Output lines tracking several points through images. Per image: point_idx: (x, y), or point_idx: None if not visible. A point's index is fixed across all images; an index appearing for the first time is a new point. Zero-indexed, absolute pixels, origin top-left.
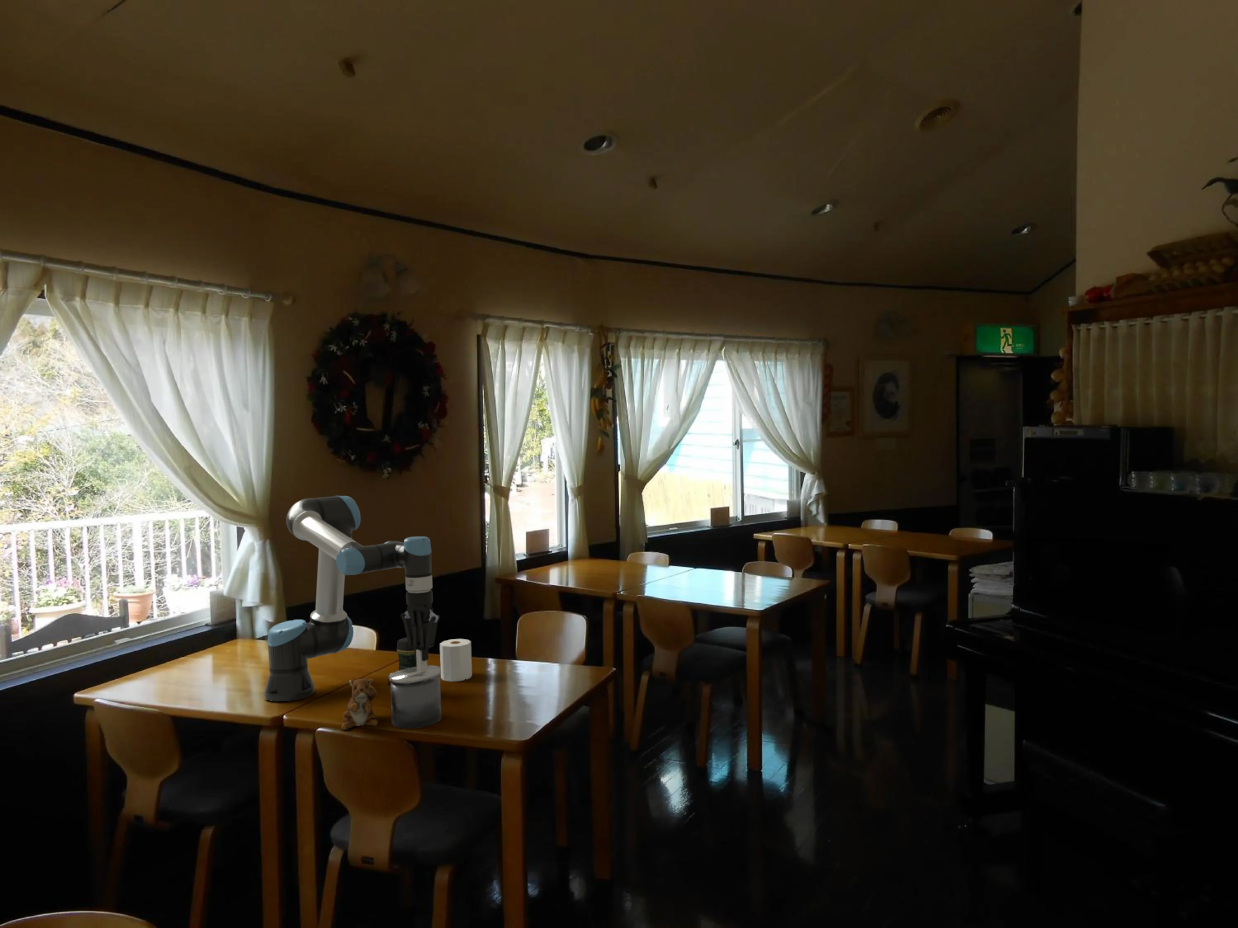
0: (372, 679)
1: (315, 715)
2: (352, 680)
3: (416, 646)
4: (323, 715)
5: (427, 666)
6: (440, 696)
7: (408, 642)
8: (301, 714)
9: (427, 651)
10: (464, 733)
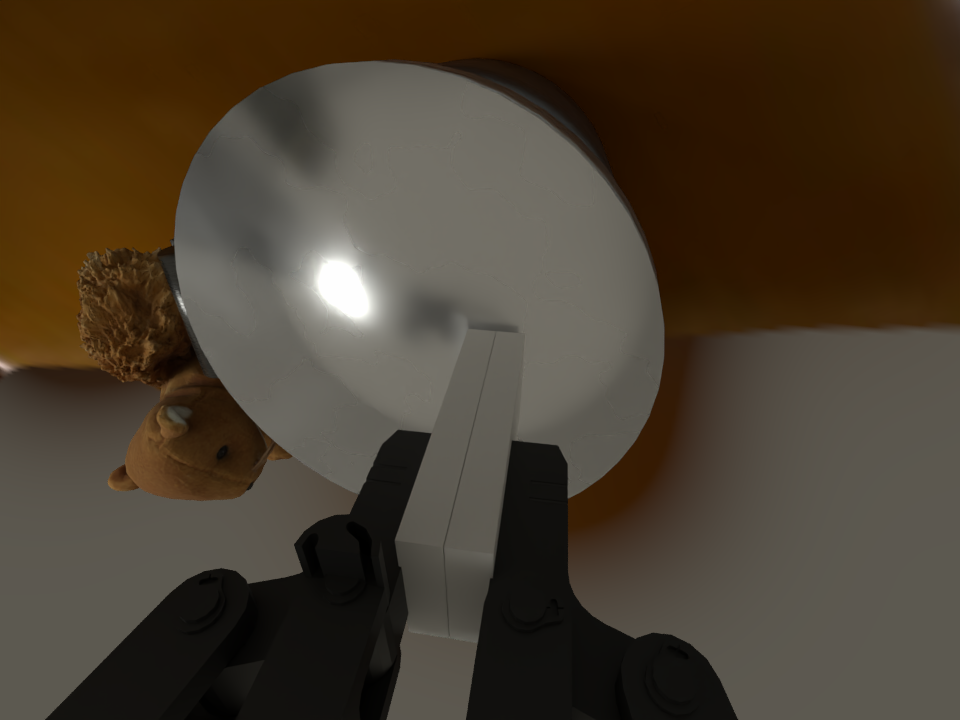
0: (175, 423)
1: (53, 319)
2: (129, 488)
3: (393, 685)
4: (75, 310)
5: (354, 117)
6: (603, 155)
7: (196, 717)
8: (5, 327)
9: (566, 565)
10: (854, 291)
